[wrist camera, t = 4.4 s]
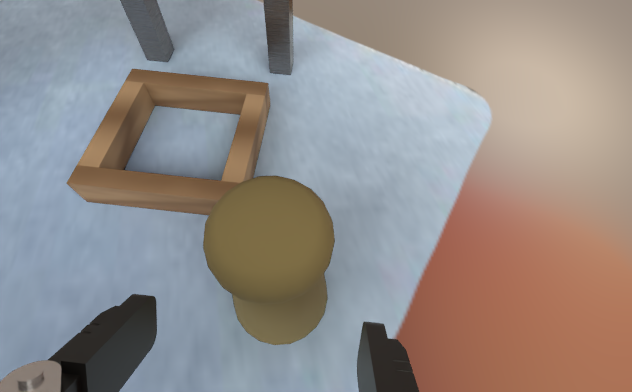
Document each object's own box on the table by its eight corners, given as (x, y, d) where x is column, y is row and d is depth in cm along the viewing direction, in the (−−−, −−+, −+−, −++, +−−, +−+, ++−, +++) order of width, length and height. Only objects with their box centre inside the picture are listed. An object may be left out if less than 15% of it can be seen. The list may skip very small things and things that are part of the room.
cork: (243, 246, 23) (204, 145, 14) (330, 254, 23) (352, 159, 14) (224, 340, 20) (156, 295, 10) (324, 349, 20) (347, 312, 10)
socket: (243, 219, 24) (238, 202, 22) (87, 201, 24) (66, 183, 22) (270, 105, 30) (268, 83, 28) (144, 91, 30) (132, 68, 28)
